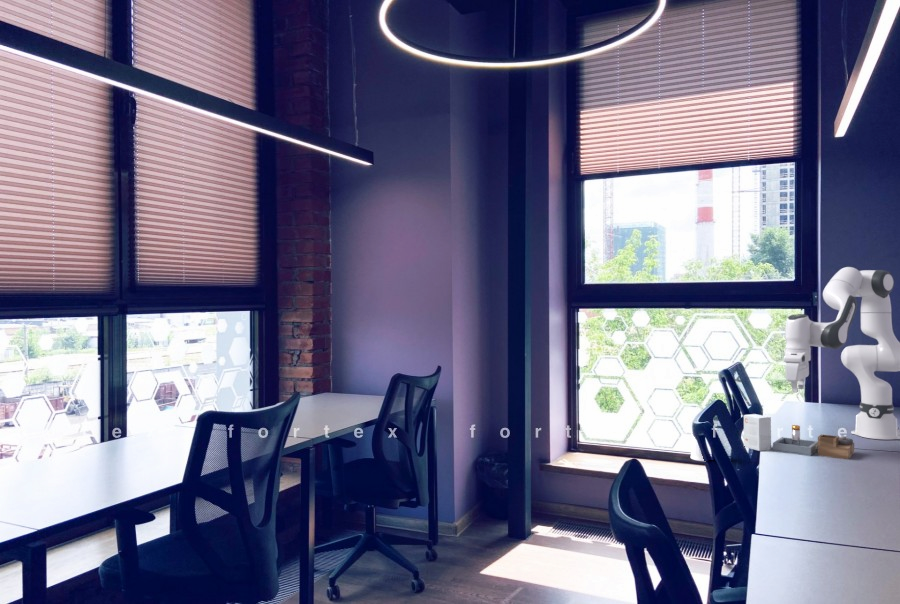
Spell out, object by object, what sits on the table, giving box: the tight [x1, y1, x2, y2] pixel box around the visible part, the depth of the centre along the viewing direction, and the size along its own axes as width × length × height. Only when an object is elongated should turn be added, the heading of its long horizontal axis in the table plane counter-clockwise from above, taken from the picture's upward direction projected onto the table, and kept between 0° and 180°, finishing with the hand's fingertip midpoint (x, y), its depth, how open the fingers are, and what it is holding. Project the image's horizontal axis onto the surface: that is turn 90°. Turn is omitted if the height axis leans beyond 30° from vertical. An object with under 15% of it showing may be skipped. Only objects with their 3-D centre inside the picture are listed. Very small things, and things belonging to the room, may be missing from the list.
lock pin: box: [791, 424, 801, 446], centre depth 255 cm, size 3×3×9 cm
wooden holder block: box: [817, 433, 855, 460], centre depth 248 cm, size 12×10×7 cm
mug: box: [690, 428, 705, 462], centre depth 243 cm, size 12×8×12 cm
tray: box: [772, 436, 818, 457], centre depth 255 cm, size 13×13×3 cm
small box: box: [743, 413, 772, 452], centre depth 259 cm, size 8×6×13 cm
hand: (798, 390), depth 256 cm, fingers open, 8 cm apart
